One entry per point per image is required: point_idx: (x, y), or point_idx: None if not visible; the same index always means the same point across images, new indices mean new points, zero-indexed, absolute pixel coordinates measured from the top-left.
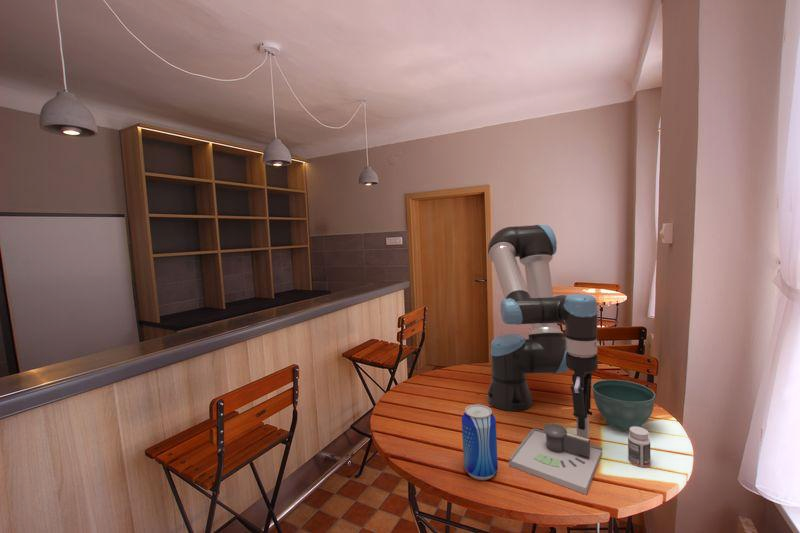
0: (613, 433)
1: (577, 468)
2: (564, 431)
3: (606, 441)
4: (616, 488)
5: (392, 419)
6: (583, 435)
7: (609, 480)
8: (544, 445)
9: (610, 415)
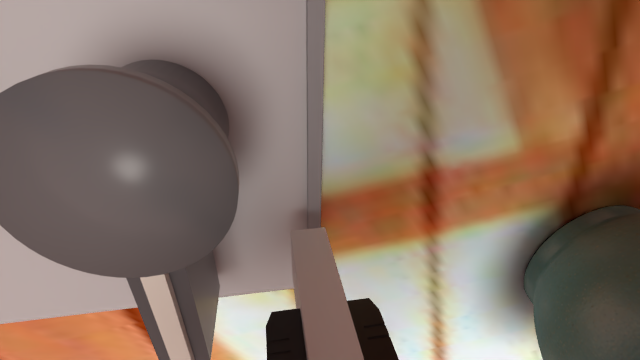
0: (500, 251)
1: (68, 267)
2: (152, 260)
3: (427, 250)
4: (127, 344)
5: None
6: (294, 281)
7: None
8: (134, 45)
9: (573, 303)
